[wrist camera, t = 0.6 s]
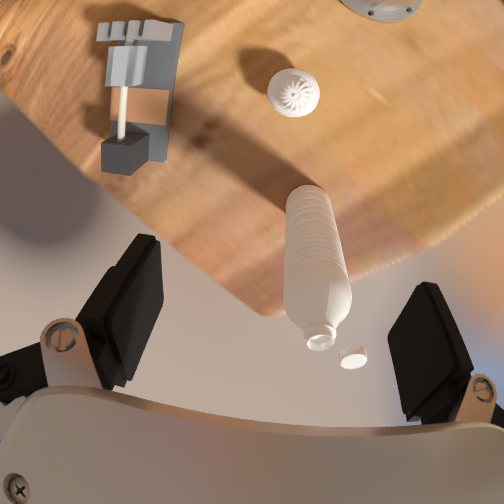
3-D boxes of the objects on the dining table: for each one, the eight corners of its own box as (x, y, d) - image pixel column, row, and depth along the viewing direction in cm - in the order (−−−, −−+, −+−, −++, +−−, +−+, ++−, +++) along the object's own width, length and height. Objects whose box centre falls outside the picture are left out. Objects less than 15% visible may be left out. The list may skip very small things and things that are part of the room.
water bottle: (276, 207, 45) (264, 347, 24) (305, 175, 41) (320, 304, 21) (320, 239, 47) (336, 381, 27) (349, 210, 44) (390, 348, 23)
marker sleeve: (122, 46, 29) (108, 46, 26) (148, 46, 29) (135, 45, 26) (118, 82, 32) (104, 86, 29) (143, 83, 32) (130, 86, 29)
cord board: (124, 24, 30) (92, 21, 23) (184, 23, 30) (161, 17, 24) (113, 151, 42) (85, 170, 35) (166, 159, 42) (144, 180, 35)
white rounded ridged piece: (326, 93, 34) (335, 99, 29) (291, 121, 37) (292, 133, 32) (294, 58, 32) (295, 57, 26) (258, 88, 35) (253, 93, 29)
